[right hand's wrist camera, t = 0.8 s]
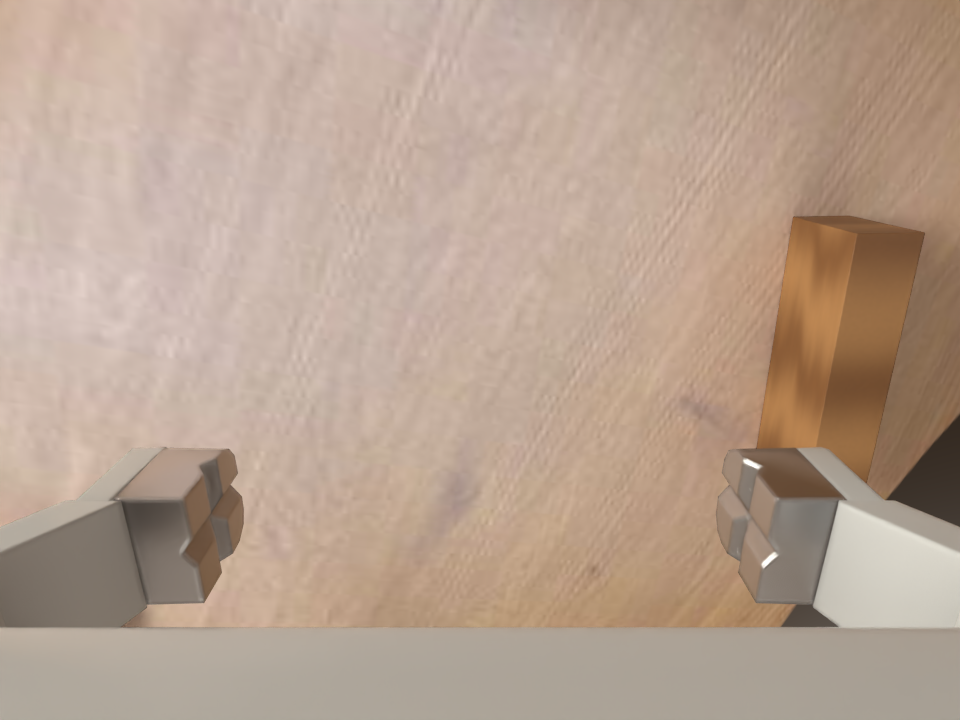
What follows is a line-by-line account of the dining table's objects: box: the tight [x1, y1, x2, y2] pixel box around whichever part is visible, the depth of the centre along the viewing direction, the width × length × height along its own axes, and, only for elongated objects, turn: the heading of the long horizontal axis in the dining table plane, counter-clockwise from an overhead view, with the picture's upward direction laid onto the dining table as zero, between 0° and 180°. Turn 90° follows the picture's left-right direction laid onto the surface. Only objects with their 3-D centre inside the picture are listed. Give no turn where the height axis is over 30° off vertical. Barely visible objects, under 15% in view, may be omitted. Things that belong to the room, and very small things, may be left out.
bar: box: [757, 216, 925, 484], centre depth 48 cm, size 22×4×9 cm, turn 1°
